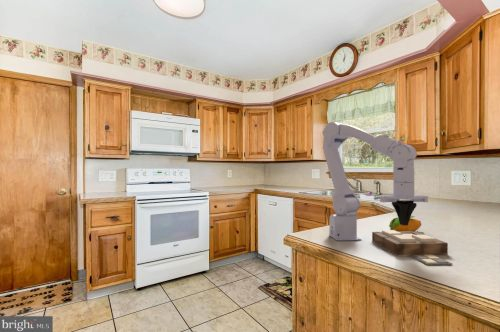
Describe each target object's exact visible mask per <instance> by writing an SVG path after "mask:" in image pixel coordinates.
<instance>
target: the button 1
mask: <svg viewBox="0 0 500 332" xmlns="http://www.w3.org/2000/svg"><path fill="white" fill-rule="evenodd" d="M381 232H382V234H384V235H386V236H388V237H393V235H402V233H400V232H397V231H395V230H390V229H382V230H381Z"/></svg>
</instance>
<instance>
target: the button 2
mask: <svg viewBox="0 0 500 332" xmlns="http://www.w3.org/2000/svg"><path fill="white" fill-rule="evenodd" d="M393 239H395V240H397V241H399V242H401V243H407V242H415V238H412V237H410V236H407V235H393Z"/></svg>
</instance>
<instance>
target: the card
mask: <svg viewBox="0 0 500 332" xmlns="http://www.w3.org/2000/svg"><path fill="white" fill-rule="evenodd" d="M409 256H410V257H411V258H412V259H414V260H416V261H418V262H419V263H422V264H424V265H426V266H428V267H429V266H453V263H452V262H450V261H447V260H445V259H443V258H441V257H440V256H438V255H409Z"/></svg>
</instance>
